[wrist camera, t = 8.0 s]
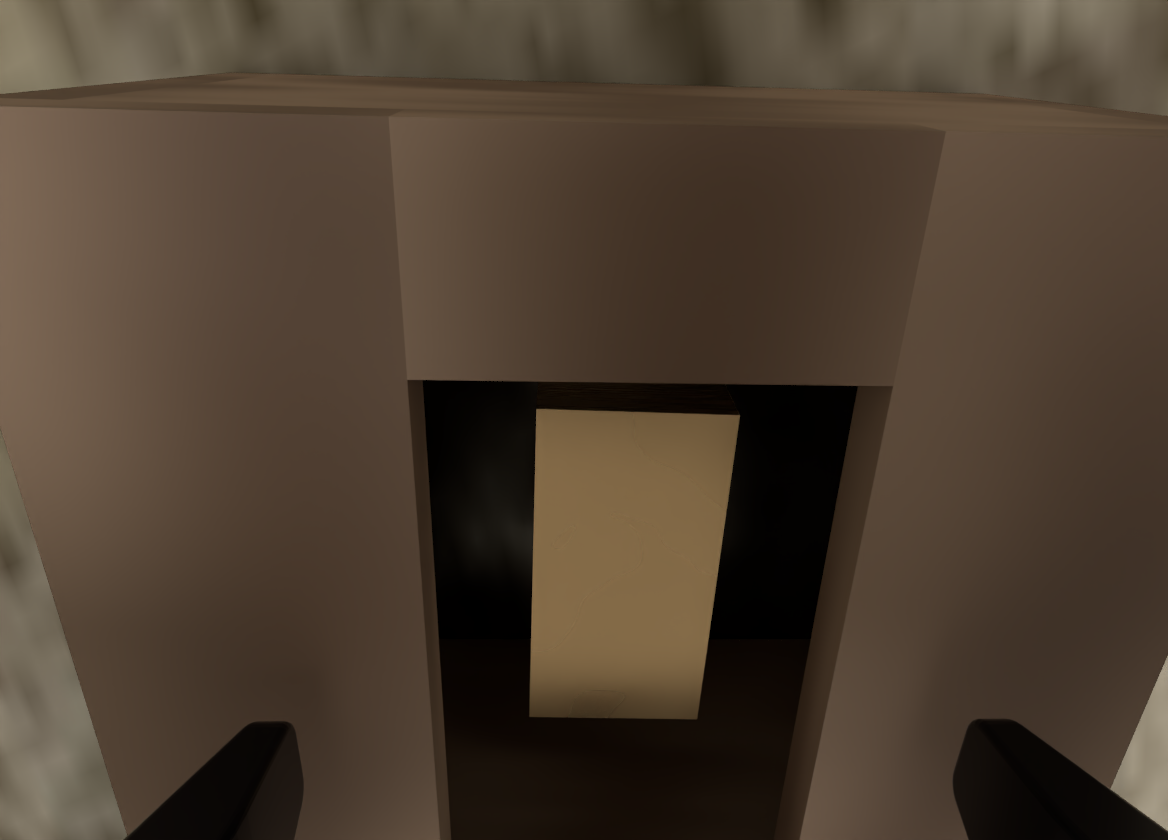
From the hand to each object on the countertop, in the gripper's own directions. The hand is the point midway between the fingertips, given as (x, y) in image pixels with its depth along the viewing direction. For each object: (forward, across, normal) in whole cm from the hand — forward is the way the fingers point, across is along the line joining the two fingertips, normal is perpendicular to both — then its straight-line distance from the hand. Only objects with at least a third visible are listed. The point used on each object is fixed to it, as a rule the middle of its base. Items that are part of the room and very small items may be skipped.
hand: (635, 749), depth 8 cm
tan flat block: (+8, 0, 0) cm, 8 cm away
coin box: (+8, 0, 0) cm, 8 cm away
